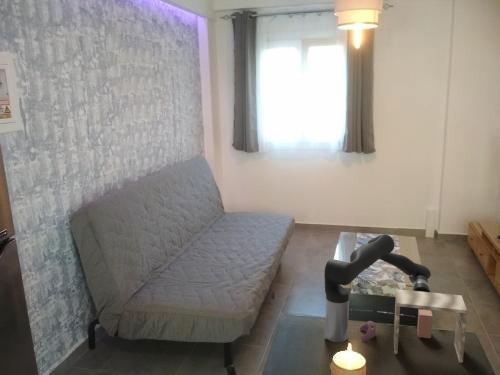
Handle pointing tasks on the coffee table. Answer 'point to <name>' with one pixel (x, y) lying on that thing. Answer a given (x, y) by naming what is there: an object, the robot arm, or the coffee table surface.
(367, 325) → the mauve looped ornament
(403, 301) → the clear acrylic riser
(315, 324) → the coffee table surface
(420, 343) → the coffee table surface
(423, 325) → the terracotta block
